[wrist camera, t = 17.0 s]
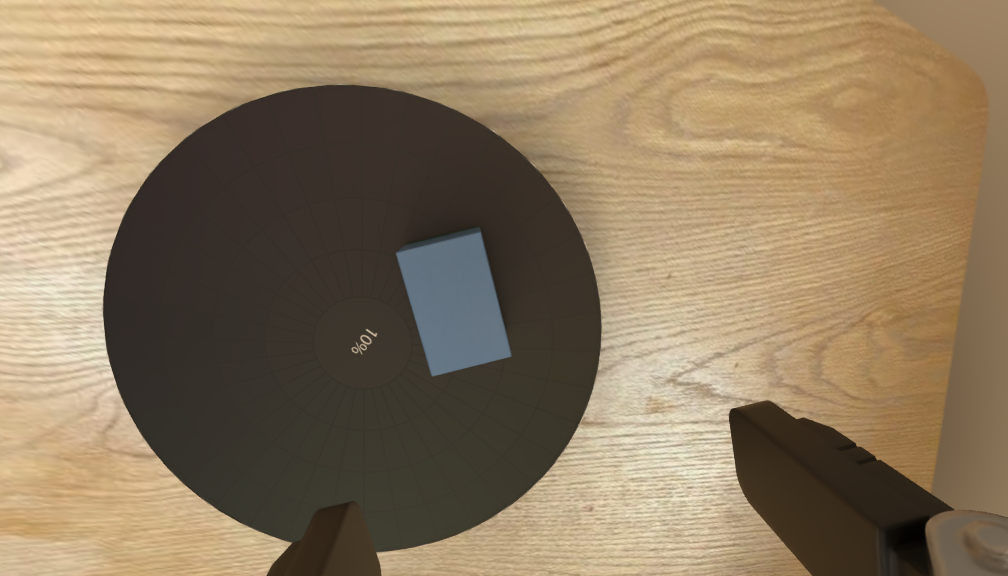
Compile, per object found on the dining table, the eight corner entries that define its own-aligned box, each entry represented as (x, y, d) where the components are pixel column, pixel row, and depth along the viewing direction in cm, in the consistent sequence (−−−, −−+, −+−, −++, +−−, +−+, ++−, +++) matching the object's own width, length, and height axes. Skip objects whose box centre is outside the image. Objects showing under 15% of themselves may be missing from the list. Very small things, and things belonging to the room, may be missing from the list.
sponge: (405, 243, 28) (395, 252, 24) (479, 225, 28) (481, 231, 24) (436, 352, 29) (431, 377, 25) (506, 334, 29) (512, 356, 25)
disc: (464, 580, 36) (464, 615, 33) (68, 420, 31) (27, 444, 28) (670, 241, 32) (691, 246, 29) (249, -5, 27) (222, -29, 24)
